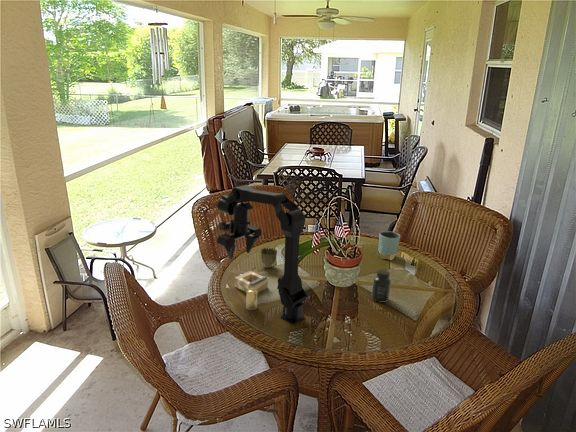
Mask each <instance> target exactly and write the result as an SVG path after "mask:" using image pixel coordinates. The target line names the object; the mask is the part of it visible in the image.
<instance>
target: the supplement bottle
mask: <svg viewBox="0 0 576 432" xmlns="http://www.w3.org/2000/svg"><path fill="white" fill-rule="evenodd" d="M391 285H392V281H391V279H390V271H389V270H386V269H378V270H377V272H376V276H374V278H373V281H372V289H371V295H372V298H373V299H374V300H376V301H386V300H388V301H389V298H390V297H389V296H390V291H391ZM372 298H371V299H372ZM373 299H372V300H373ZM374 300H373V301H374ZM376 301H375V302H376Z"/></svg>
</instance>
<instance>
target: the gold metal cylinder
mask: <svg viewBox="0 0 576 432" xmlns="http://www.w3.org/2000/svg"><path fill="white" fill-rule="evenodd" d="M258 293H259V292H258V291H257V289H254V288H250V289H247V293H246V295H245V296H246V299H245V300H246V302H245V308H246V310H248V311H256V310H257V308H258Z"/></svg>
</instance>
